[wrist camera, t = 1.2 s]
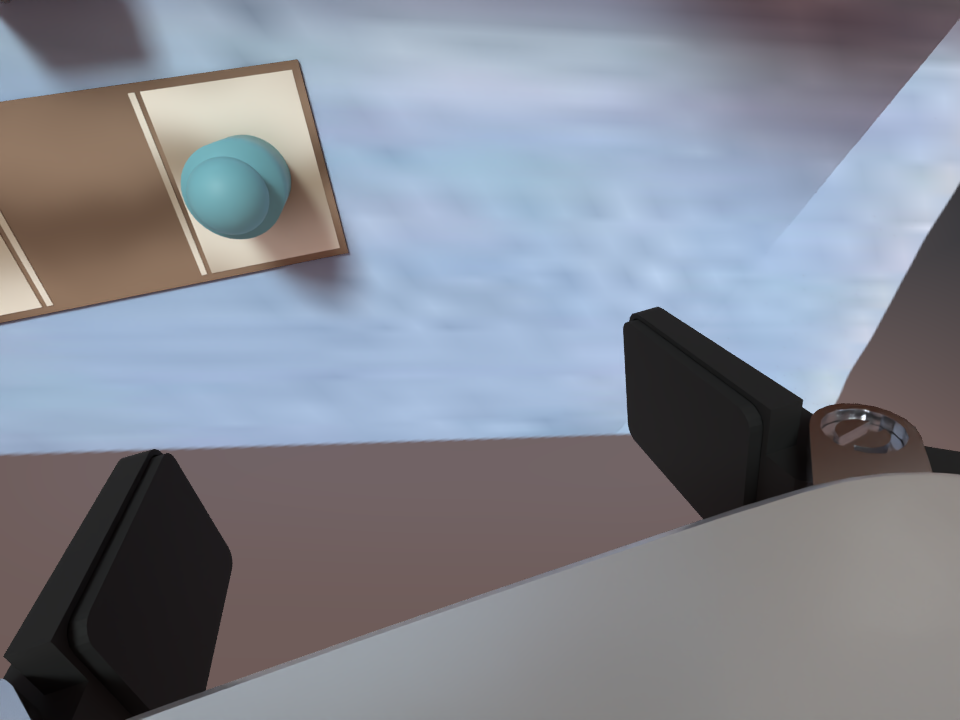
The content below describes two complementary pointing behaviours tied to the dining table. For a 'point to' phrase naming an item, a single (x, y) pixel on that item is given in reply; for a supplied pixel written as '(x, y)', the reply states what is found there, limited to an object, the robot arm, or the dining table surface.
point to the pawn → (236, 186)
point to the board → (147, 187)
